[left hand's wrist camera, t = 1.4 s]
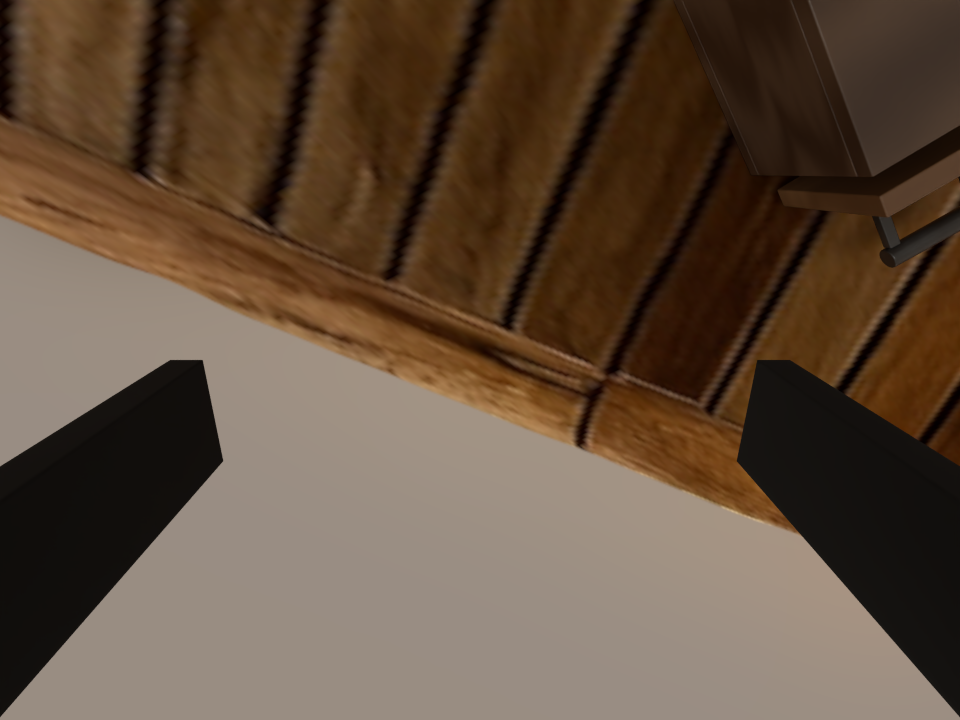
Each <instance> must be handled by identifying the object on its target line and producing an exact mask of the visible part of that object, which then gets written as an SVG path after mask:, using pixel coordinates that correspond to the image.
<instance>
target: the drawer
mask: <svg viewBox="0 0 960 720" xmlns="http://www.w3.org/2000/svg"><path fill="white" fill-rule="evenodd" d="M956 178H959V181H960V125H959V126H958V127H956V128H954V129H953V130H951V131H949V132H948V133H946V134H944V135H943V136H941V137H939V138H937V139H936V140H934V141H932V142H931V143H929V144H927V145H926V146H924V147H922V148H921V149H919V150H917V151H916V152H914V153H912V154H911V155H909V156H907V157H905V158H904V159H902V160H900V161H899V162H897V163H895V164H894V165H892V166H890V167H889V168H887V169H885V170H884V171H882V172H880V173H879V174H877V175H875V176H873V177H859V176H857V177H844V176H799V177H798V178H796V179H794V180H793V181H791V182H789V183H788V184H786V185H785V186H783V187H781V188H780V189H778V193H779V196H780V198H781V200H782V203H783V205H784V206H789V207H798V208H807V209H816V210H825V211H833V212H842V213H851V214H860V215H869V216H872V217H873V220H874V222H875V225H876V228H877V230H878V233H879V236H880V238H881V241H882V244H883V246H884V247H885V249H883V250H881V252H880V258H881V260H882V262H883V263H884V264H885V265H887V266H888V267H891V268H893V267H896V266H898V265H900V264H901V263H903V262H905V261H907V260H909V259H910V258H912V257H914V256H916V255H918V254H919V253H921V252H923V251H925V250H927V249H928V248H930V247H932V246H934V245H936V244H937V243H939V242H941V241H943V240H945V239H946V238H948V237H950V236H952V235H954V234H955V233H957V232H959V231H960V206H959V207H957V208H956V209H954V210H952V211H950V212H949V213H947V214H945V215H943V216H942V217H940V218H938V219H936V220H934V221H933V222H931V223H929V224H927V225H926V226H924V227H922V228H920V229H918V230H917V231H915V232H913V233H911V234H910V235H908V236H906V237H904V238H903V239H901V240H899V237H898V234H897V232H896V229H895V226H894V223H893V221H892V218H891V216H892V215H893V214H895V213H897V212H898V211H900V210H902V209H904V208H905V207H907V206H909V205H911V204H912V203H914V202H916V201H918V200H919V199H921V198H923V197H925V196H926V195H928V194H930V193H932V192H933V191H935V190H937V189H938V188H940V187H942V186H944V185H945V184H947V183H949V182H951V181H952V180H954V179H956Z"/></svg>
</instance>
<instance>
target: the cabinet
mask: <svg viewBox="0 0 960 720" xmlns="http://www.w3.org/2000/svg"><path fill="white" fill-rule="evenodd" d="M674 2H675V5H676V7H677V9H678V11H679V14H680V16H681V18H682V20H683V23H684V25H685V27H686V29H687V32H688V34H689V36H690V38H691V41H692V43H693V45H694V47H695V50H696V52H697V54H698V57H699V59H700V61H701V63H702V66H703V68H704V70H705V72H706V75H707V77H708V79H709V81H710V84H711V86H712V88H713V90H714V93H715V95H716V97H717V99H718V102H719V104H720V106H721V108H722V111H723V113H724V115H725V117H726V120H727V122H728V124H729V126H730V129H731V131H732V133H733V135H734V138H735V140H736V142H737V144H738V147H739V149H740V151H741V153H742V156H743V158H744V160H745V162H746V165H747V167H748V169H749V171H750V174H751V175H770V176H844V177H857V176H859V177H873V176H875V175H877V174H879V173H880V172H882V171H884V170H885V169H887V168H889V167H890V166H892V165H894V164H895V163H897V162H899V161H900V160H902V159H904V158H905V157H907V156H909V155H911V154H912V153H914V152H916V151H917V150H919V149H921V148H922V147H924V146H926V145H927V144H929V143H931V142H932V141H934V140H936V139H937V138H939V137H941V136H943V135H944V134H946V133H948V132H949V131H951V130H953V129H954V128H956V127H958V126H959V125H960V0H674Z"/></svg>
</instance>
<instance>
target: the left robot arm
mask: <svg viewBox="0 0 960 720" xmlns="http://www.w3.org/2000/svg"><path fill="white" fill-rule="evenodd" d="M222 462H223V458H222V453H221V448H220V443H219V438H218V433H217V428H216V423H215V418H214V414H213V409H212V404H211V399H210V394H209V389H208V384H207V379H206V374H205V370H204V365H203V360H170V361H168V362H166V363H165V364H163V365H162V366H160V367H158V368H157V369H155V370H154V371H152V372H150V373H149V374H147V375H146V376H144V377H143V378H141V379H139V380H138V381H136V382H134V383H133V384H131V385H130V386H128V387H126V388H125V389H123V390H122V391H120V392H119V393H117V394H115V395H114V396H112V397H110V398H109V399H107V400H106V401H104V402H102V403H101V404H99V405H98V406H96V407H95V408H93V409H91V410H90V411H88V412H87V413H85V414H83V415H82V416H80V417H78V418H77V419H75V420H74V421H72V422H71V423H69V424H67V425H66V426H64V427H63V428H61V429H59V430H58V431H56V432H55V433H53V434H51V435H50V436H48V437H47V438H45V439H43V440H42V441H40V442H39V443H37V444H35V445H34V446H32V447H31V448H29V449H27V450H26V451H24V452H23V453H21V454H19V455H18V456H16V457H15V458H13V459H11V460H10V461H8V462H7V463H5V464H3V465H2V466H0V717H1V715H2V714H3V713H4V712H5V711H6V710H7V709H8V707H9V706H10V705H11V704H12V703H13V702H14V701H15V699H16V698H17V697H18V696H19V695H20V694H21V692H22V691H23V690H24V689H25V688H26V687H27V686H28V684H29V683H30V682H31V681H32V680H33V679H34V678H35V676H36V675H37V674H38V673H39V672H40V671H41V670H42V668H43V667H44V666H45V665H46V664H47V663H48V662H49V660H50V659H51V658H52V657H53V656H54V655H55V653H56V652H57V651H58V650H59V649H60V648H61V647H62V645H63V644H64V643H65V642H66V641H67V640H68V639H69V637H70V636H71V635H72V634H73V633H74V632H75V630H76V629H77V628H78V627H79V626H80V625H81V624H82V622H83V621H84V620H85V619H86V618H87V617H88V616H89V614H90V613H91V612H92V611H93V610H94V609H95V607H96V606H97V605H98V604H99V603H100V602H101V601H102V600H103V598H104V597H105V596H106V595H107V594H108V593H109V592H110V590H111V589H112V588H113V587H114V586H115V585H116V583H117V582H118V581H119V580H120V579H121V578H122V577H123V575H124V574H125V573H126V572H127V571H128V570H129V569H130V567H131V566H132V565H133V564H134V563H135V562H136V560H137V559H138V558H139V557H140V556H141V555H142V554H143V553H144V551H145V550H146V549H147V548H148V547H149V546H150V544H151V543H152V542H153V541H154V540H155V539H156V538H157V536H158V535H159V534H160V533H161V532H162V531H163V529H164V528H165V527H166V526H167V525H168V524H169V523H170V522H171V520H172V519H173V518H174V517H175V516H176V515H177V513H178V512H179V511H180V510H181V509H182V508H183V507H184V505H185V504H186V503H187V502H188V501H189V500H190V499H191V497H192V496H193V495H194V494H195V493H196V492H197V490H198V489H199V488H200V487H201V486H202V485H203V484H204V482H205V481H206V480H207V479H208V478H209V477H210V476H211V474H212V473H213V472H214V471H215V470H216V469H217V468H218V466H219V465H220V464H221V463H222ZM737 462H738V463H739V464H740V465H741V466H742V468H743V469H744V470H745V471H746V472H747V473H748V474H749V476H750V477H751V478H752V479H753V480H754V481H755V483H756V484H757V485H758V486H759V487H760V488H761V489H762V491H763V492H764V493H765V494H766V495H767V496H768V497H769V499H770V500H771V501H772V502H773V503H774V504H775V505H776V507H777V508H778V509H779V510H780V511H781V512H782V513H783V515H784V516H785V517H786V518H787V519H788V520H789V522H790V523H791V524H792V525H793V526H794V527H795V528H796V530H797V531H798V532H799V533H800V534H801V535H802V536H803V538H804V539H805V540H806V541H807V542H808V543H809V544H810V546H811V547H812V548H813V549H814V550H815V551H816V553H817V554H818V555H819V556H820V557H821V558H822V559H823V561H824V562H825V563H826V564H827V565H828V566H829V567H830V568H831V570H832V571H833V572H834V573H835V574H836V575H837V577H838V578H839V579H840V580H841V581H842V582H843V583H844V585H845V586H846V587H847V588H848V589H849V590H850V592H851V593H852V594H853V595H854V596H855V597H856V598H857V600H858V601H859V602H860V603H861V604H862V605H863V606H864V608H865V609H866V610H867V611H868V612H869V613H870V614H871V616H872V617H873V618H874V619H875V620H876V621H877V622H878V624H879V625H880V626H881V627H882V628H883V629H884V630H885V632H886V633H887V634H888V635H889V636H890V637H891V639H892V640H893V641H894V642H895V643H896V644H897V645H898V647H899V648H900V649H901V650H902V651H903V652H904V654H905V655H906V656H907V657H908V658H909V659H910V660H911V662H912V663H913V664H914V665H915V666H916V667H917V668H918V670H919V671H920V672H921V673H922V674H923V675H924V676H925V678H926V679H927V680H928V681H929V682H930V683H931V684H932V686H933V687H934V688H935V689H936V690H937V691H938V693H939V694H940V695H941V696H942V697H943V698H944V699H945V701H946V702H947V703H948V704H949V705H950V706H951V707H952V709H953V710H954V711H955V712H956V713H957V714H958V715H959V717H960V466H958V465H957V464H955V463H953V462H952V461H950V460H949V459H947V458H945V457H944V456H942V455H941V454H939V453H937V452H936V451H934V450H933V449H931V448H929V447H928V446H926V445H925V444H923V443H921V442H920V441H918V440H917V439H915V438H913V437H912V436H910V435H909V434H907V433H905V432H904V431H902V430H901V429H899V428H897V427H896V426H894V425H893V424H891V423H889V422H888V421H886V420H885V419H883V418H882V417H880V416H878V415H877V414H875V413H874V412H872V411H870V410H869V409H867V408H866V407H864V406H862V405H861V404H859V403H858V402H856V401H854V400H853V399H851V398H850V397H848V396H846V395H845V394H843V393H842V392H840V391H838V390H837V389H835V388H834V387H832V386H830V385H829V384H827V383H826V382H824V381H822V380H821V379H819V378H818V377H816V376H814V375H813V374H811V373H810V372H808V371H806V370H805V369H803V368H802V367H800V366H798V365H797V364H795V363H794V362H792V361H790V360H757V365H756V369H755V374H754V379H753V384H752V389H751V394H750V399H749V404H748V409H747V414H746V418H745V423H744V428H743V433H742V438H741V443H740V448H739V453H738V458H737Z"/></svg>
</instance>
